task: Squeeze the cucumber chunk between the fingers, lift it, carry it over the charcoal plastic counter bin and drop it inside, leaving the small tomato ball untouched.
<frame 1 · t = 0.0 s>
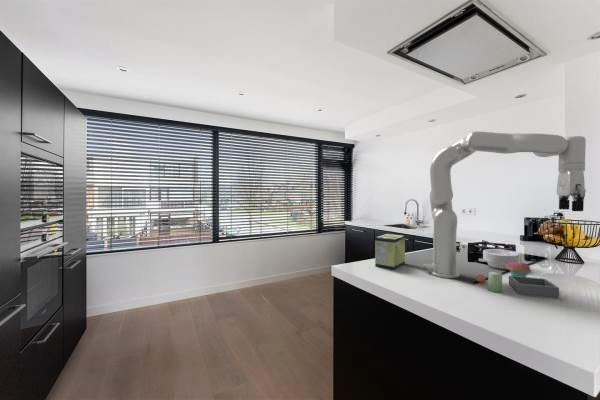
hand: (570, 210, 108), 31 cm above the worktop, fingers open, 9 cm apart
cucumber chunk: (494, 290, 105), on the worktop
bin: (532, 291, 104), on the worktop
paper bowls: (500, 267, 136), on the worktop
cupcake: (517, 278, 120), on the worktop
protein box: (390, 265, 143), on the worktop
tomato ball: (480, 282, 115), on the worktop
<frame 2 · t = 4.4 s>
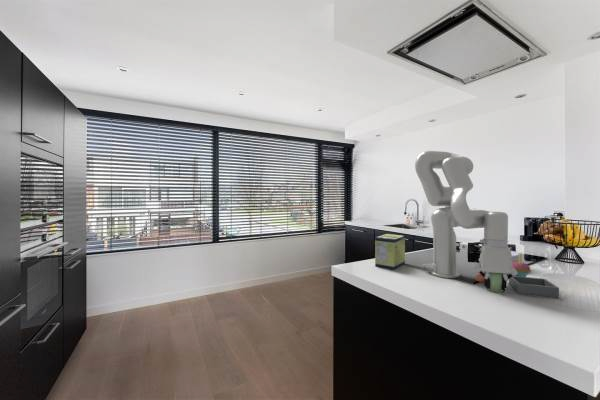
hand: (495, 288, 105), 1 cm above the worktop, fingers closed on cucumber chunk, 4 cm apart
cucumber chunk: (495, 290, 105), on the worktop, touching gripper
everything else where it was.
when the fingers open (4 cm above the worktop, at t = 8.8 s): cucumber chunk drops 3 cm, resting on bin.
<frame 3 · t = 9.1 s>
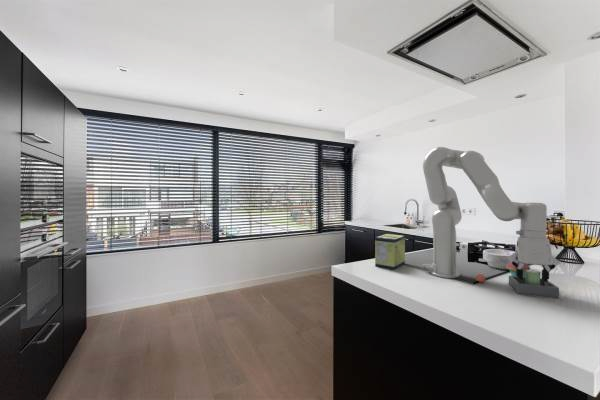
hand: (532, 279, 104), 5 cm above the worktop, fingers open, 7 cm apart
cucumber chunk: (532, 289, 104), point 1 cm above the worktop, touching bin
everything else where it was.
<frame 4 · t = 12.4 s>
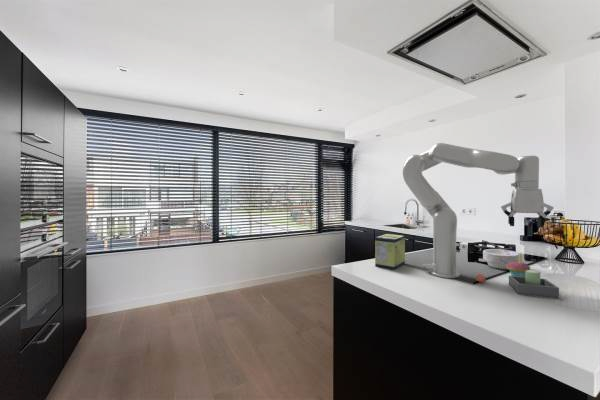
hand: (525, 226, 112), 24 cm above the worktop, fingers open, 9 cm apart
nothing on the worktop moved.
at the end: cucumber chunk inside the target area on the bin (0.1 cm from its centre), point 0.8 cm above the bin's base; the gripper is holding nothing; tomato ball moved 0.0 cm from its start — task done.
